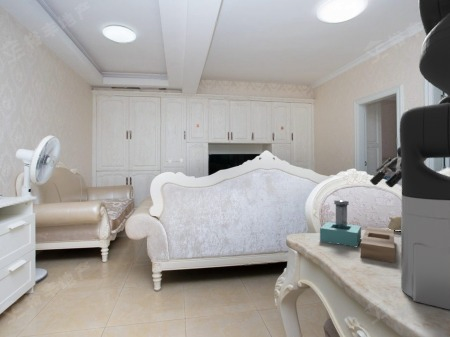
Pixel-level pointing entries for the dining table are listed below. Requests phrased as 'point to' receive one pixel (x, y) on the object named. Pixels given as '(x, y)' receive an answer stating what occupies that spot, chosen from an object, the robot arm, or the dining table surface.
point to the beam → (378, 244)
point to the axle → (341, 214)
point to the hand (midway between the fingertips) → (379, 184)
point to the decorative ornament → (395, 223)
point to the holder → (340, 234)
